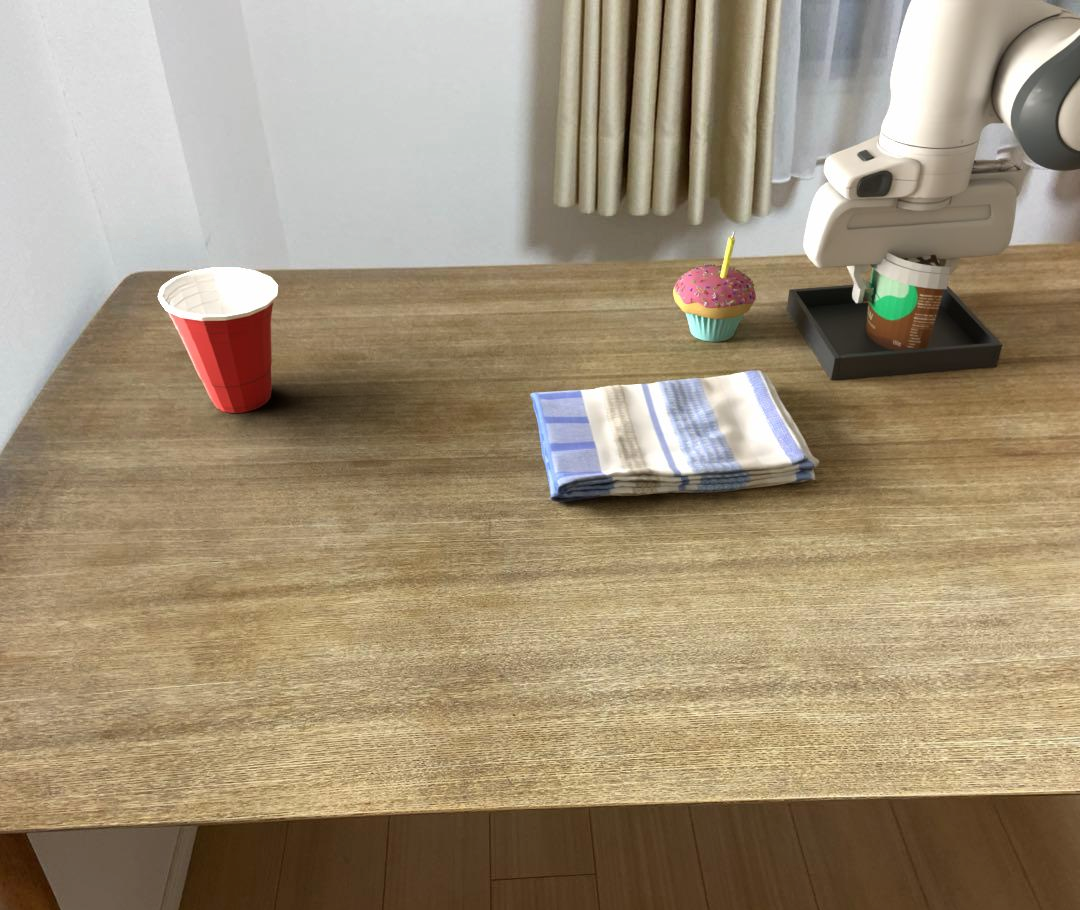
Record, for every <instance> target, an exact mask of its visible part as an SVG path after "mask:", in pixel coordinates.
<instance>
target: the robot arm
mask: <svg viewBox="0 0 1080 910" xmlns="http://www.w3.org/2000/svg"><path fill="white" fill-rule="evenodd" d="M898 37H899V38H898V41H897V45H896V48H895V53H894V57H893V63H892V68H891V73H890V77H889V88H890V102H889V106H888V109H887V111H886V114H885V116H884V118H883V120H882V123H881V127H880V132H879V134H878V135H876V136H873V137H871V138H869V139H867V140H865V141H862V142H861V143H858V144H855V145H853V146H850V147H848V148H845V149H842V150H839V151H837V152H834V153H832V154H830V155H829V156H828V157H826V159H825V161H824V165H823V174H824V176H825V178H826V179H827V181H826V182H825V183H823V184H822V185H821V186H820V187H819V188H818V190H817V191H816V192H815V195H814V197H813V198H812V201H811V205H810V210H809V211H808V217H807V220H806V225H805V230H804V235H803V243H802V247H803V251H804V253H805V255H806V256H807V258H808V259H809V260H810V262H811V263H812V264H813V265H814V266H815V267H816V268H818V269H828V268H830V269H831V268H843V267H846V269H847V270H848V273H849V275H850V278H851V280H852V282H853V285H854V286H853V292H852V298H853V300H854V301H855V303H868V302H871V301H872V297H871V296H872V295H873V291H874V287H873V286H872V285H870V283H871V281H869V280H864V278H863V276H862V275H866V274H867V273H868V270H869V265H870V266H871V264H880V263H881V262H882V260H883V259H884V258H885V259H886V256H887V253H888V252H889V253H890V254H892V255H894V256H896V257H899V258H901V259H906V258H917V257H923V256H929V255H936V258H937V260H938V262H939V264H940V266H944V267H950V271H949V277H950V276H951V275H952V274H953V273H954V272H955V271H956V269H957V268H958V266H959V263H960V259H965V258H980V257H992V256H999V255H1001V254H1002V253H1004V251H1005V250H1006V249H1007V248H1008V247H1009V246H1010V244H1011V241H1012V236H1013V232H1014V226H1015V219H1016V214H1017V213H1016V212H1017V201H1018V199H1017V198H1018V196H1019V195H1020V193H1021V191H1022V187H1023V183H1024V179H1025V172H1024V169H1023V166H1022V165H1021V164H1019V163H1018V162H1016V161H1015V160H1014V159H1013V158H1010V157H1001V158H997V159H976V155H977V152H978V148H979V144H980V140H981V137H982V132H983V131H984V129H985V127H987V126H988V125H992V124H1001V125H1002V124H1004V125H1005V126H1006V127H1007V128H1008V129H1009V130H1010V131H1011V133H1013V135H1014V137H1015V139H1016V140H1017V142H1018V143H1019V145H1020V147H1021V149H1022V150H1023V152H1024V153H1025V155H1026V156H1027V157H1028V158H1029V159H1030V160H1031V161H1032V162H1033V163H1035V164H1036V165H1038V166H1040V167H1042V168H1044V169H1048V170H1052V171H1059V172H1069V171H1076V170H1080V15H1079V14H1076V13H1075V12H1073V11H1071V10H1069V9H1066V8H1063V7H1060V6H1057V5H1054V4H1051V3H1048V2H1046V1H1044V0H910V2H909V5H908V7H907V10H906V13H905V15H904V18H903V22H902V26H901V29H900V33H899V36H898Z"/></svg>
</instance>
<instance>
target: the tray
mask: <svg viewBox="0 0 1080 910" xmlns="http://www.w3.org/2000/svg"><path fill="white" fill-rule="evenodd" d="M870 285H871V282H870ZM853 286H854V284H845V285H843V284H842V285H831V286H819V287H818V286H817V287H805V288H791V289H790V288H789V290H788V296H787V302H786V308H785V309H786V312H787V313H788V315H789V316H790V318H791V320H792V322H793V323H794V324H795V326H796V328H797V329H798V330H799V332H800V334H801V335H802V337H803V338H804V340H805V342H806V344H807V345H808V347H809V348H810V349H811V352H812V353H813V354H814V356H815V357H816V359H817V361H818V362H819V363H820V366H821V367H822V368H823V370H824V371H825V373H826V375H827V376H828V379H830V381H837V380H838V381H839V380H848V379H861V378H873V377H886V376H895V375H896V376H900V375H909V374H922V373H924V374H925V373H937V372H949V371H956V370H957V371H960V370H970V369H971V370H973V369H983V368H997V366H998V362H999V359H1000V357H1001V354H1002V350H1003V346H1004V344H1003V343H1002V342H1001V341H1000V340H999V339H998V338H997V337H996V336H995V334H994V333H992V332H991V330H989V328H988V327H987V326H986V325H985V324H984V323H983V321H982V320H981V319H979V318H978V316H977V315H976V314H975V313H974V312H973V311H972V310H971V309H970V307H968V306H967V304H966V303H965V302H964V301H963V300H962V299H961V298H960V297H959V296H958V295H957V294H956V293H955V292H954V291H953V289H951V287H949V285H948V286H947V289H944V292H943V295H942V299H941V302H940V305H939V309H938V312H937V316H936V319H935V323H934V326H933V329H932V333H931V336H930V340H929V343H928V347H927V348H922V349H909V350H897V351H894V350H890V349H887V348H885V347H883V346H881V345H879V344H877V343H875V342H874V341H873V340H871V339H870V338H869V336H868V335H867V333H866V330H865V329H866V320H867V312H868V303H869V302H868V303H855V301H854V300H853V298H852V292H853Z"/></svg>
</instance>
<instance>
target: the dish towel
mask: <svg viewBox="0 0 1080 910" xmlns="http://www.w3.org/2000/svg"><path fill="white" fill-rule="evenodd" d="M530 399H531V401H532V407H533V410H534V414H535V416H536V417H535V418H536V421H537V422H536V423H537V427H538V432H539V433H538V434H539V441H540V447H541V449H540V450H541V456H542V460H543V462H544V466H545V471H546V472H545V473H546V475H547V481H548V486H549V492H550V499H551V501H552V502H558V503H560V502H570V501H577V500H587V499H594V498H599V497H606V496H619V497H620V496H621V497H625V496H627V497H628V496H629V497H630V496H631V497H633V496H646V495H652V494H653V495H654V494H675V493H676V494H677V493H689V494H696V493H699V494H700V493H701V494H702V493H707V494H708V493H722V492H723V493H724V492H734V491H738V490H746V489H755V488H764V487H773V486H774V487H775V486H780V485H787V484H799V483H804V482H808V481H815V480H816V473H815V470H814V469H815V468H816V467H817V466H819V464H820V462H821V461H820V460H819V459H818V458H817V457H815V456H814V455H813V453H812V451H811V450H810V448H809V446H808V444H807V443H808V442H807V441H806V439H805V437H804V436H803V435H802V432H801V430H800V429H799V427H798V425H797V424H796V422H795V421H794V419H793V417H792V415H791V413H790V412H789V411H788V410H787V408H786V406H785V405H784V403H783V401H782V400H781V398H780V396H779V393H778V391H777V388H776V387H775V385H774V384H773V382H772V380H771V379H770V377H769V376H768V374H767V373H766V372H765V371H762V370H760V369H753V370H746V371H741V372H737V373H732V374H727V375H726V374H725V375H717V376H711V377H704V378H701V377H693V378H684V379H670V380H660V381H656V382H652V383H651V382H650V383H637V384H636V383H635V384H634V383H633V384H615V385H606V386H600V387H597V388H594V389H577V390H576V389H575V390H574V389H571V390H557V391H538V392H532V393H530Z"/></svg>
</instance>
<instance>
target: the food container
mask: <svg viewBox="0 0 1080 910" xmlns="http://www.w3.org/2000/svg"><path fill="white" fill-rule="evenodd" d="M870 267H871V268H872V269H871V277H870V283H871V285H872V286H873V287H874V291H873V295H872V296H871V297H872V301H871V302H869V303H868V312H867V320H866V329H865V330H866V333H867V335H868V336H869V338H870V339H871V340H873V341H874V342H875V343H877V344H879V345H881V346H883V347H885V348H887V349H890V350H894V351H897V350H909V349H922V348H927V347H928V343H929V340H930V336H931V333H932V329H933V326H934V323H935V319H936V316H937V312H938V309H939V305H940V302H941V299H942V295H943V292H944V289H947V286H948V287H949V280H950V276H949V271H950V267H944V266H940V264H939V261H938V260H937V258H936V255H929V256H923V257H917V258H906V259H901V258H899V257H896V256H894V255H892V254H890V253H889V252H888V253H887V256H886V259H885V258H884V259H883V260H882V262H881V263H880V264H871V265H870Z"/></svg>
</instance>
